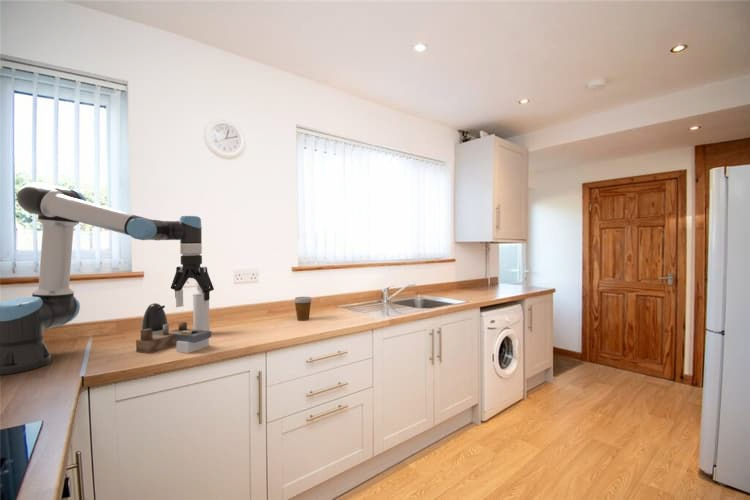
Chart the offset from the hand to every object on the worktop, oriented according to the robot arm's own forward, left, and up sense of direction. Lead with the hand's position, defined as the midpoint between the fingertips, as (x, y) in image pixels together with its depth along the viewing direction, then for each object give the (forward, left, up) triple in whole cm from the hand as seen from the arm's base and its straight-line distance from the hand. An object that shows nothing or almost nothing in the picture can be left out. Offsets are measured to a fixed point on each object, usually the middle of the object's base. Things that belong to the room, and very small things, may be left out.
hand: (192, 307), depth 136 cm
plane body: (0, +15, -16) cm, 22 cm away
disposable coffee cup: (+59, -14, -17) cm, 63 cm away
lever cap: (0, 0, -12) cm, 13 cm away
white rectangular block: (0, 0, -16) cm, 17 cm away
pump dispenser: (+8, +32, -17) cm, 37 cm away
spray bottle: (+18, +15, -17) cm, 29 cm away
